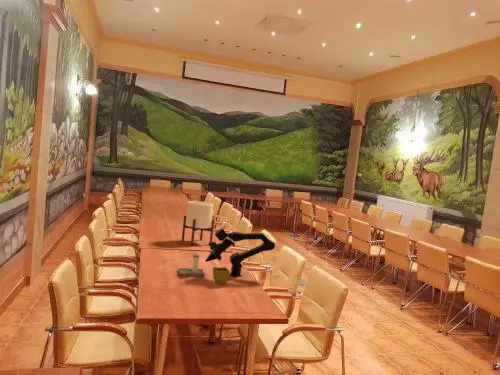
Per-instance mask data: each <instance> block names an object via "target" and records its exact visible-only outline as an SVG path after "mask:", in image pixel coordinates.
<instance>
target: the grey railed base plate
mask: <svg viewBox="0 0 500 375" xmlns="http://www.w3.org/2000/svg"><path fill="white" fill-rule="evenodd" d="M177 272H178V274H179V277H195V278H196V277H202V278H205V272H204V268H198V269H197V272H192V267H178V270H177Z"/></svg>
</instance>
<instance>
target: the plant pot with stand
mask: <svg viewBox="0 0 500 375" xmlns="http://www.w3.org/2000/svg"><path fill="white" fill-rule="evenodd" d="M213 209H214V204H213V203H211V202H207V201H206V202H205V201H198V200H197V201H195V200H193V201H191V200H189V201H187V206H186V215H183V222H182V223H183V224H182V234H181V235H182V236H181V242H184V241H185V234H186V233H185V230H186V229H191V238H190V246H192V247H193V246H194V240H195V232H196V231H199V230H200V236H199V241H203V234H204V233H203V232H204V231H205V232H210V237H209V241H210V240H211V241H213V237H214V236H213V234H214V225H215V219H213V211H214V210H213Z"/></svg>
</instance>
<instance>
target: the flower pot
mask: <svg viewBox="0 0 500 375" xmlns="http://www.w3.org/2000/svg"><path fill="white" fill-rule="evenodd" d="M229 274H231V270H230V269H228V268H227V267H225V266H224V267H212V276H213V281H214V282H215V284H217V285H226V284H227V282H228V280H229V277H230V275H229Z"/></svg>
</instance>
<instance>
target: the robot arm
mask: <svg viewBox="0 0 500 375" xmlns="http://www.w3.org/2000/svg"><path fill="white" fill-rule="evenodd" d="M213 234H214V236H215V237H216V238H217V240H218V241H220V242H218V243H217V242H215V241H213V240H212V241H211V240H210V239H209V241H208V243H207V245H208V247H209V249H210V250H209V255H208V256H207V257H206V258H205V260H204V261H205V263H207V262H211V261H215V260H218V261H219V262H221V260H222V259H223V258H222V254H223V253H224V252H226V251H227V250H228V249H229V248H230V247H231V246H232V247H233V248H234V247H235V244H236V243H235V242H241V241H245V240H261V244H260V245H258V246H255V247H253V248H250V249H249V250H246V251H243V252H241V253H240V252H238V251H237V252H234V253H231V255H230V256H229V262H230V263H231V268H230V274H229V276H231V277H234V278H238V277H243V274H242V273H241V272H242V268H243V265H242V262H243V261H244V260H246V259H248V258H251V257H252V256H256V255H257V254H260V253H262V252H269V251H273V250H274V249H275V247H276V243H275V242H274V241H272V240H271V239H269V238H268V237H267V236H266V234H264V233H263V232H254V233H253V232H252V233H250V232H249V233H246V232H245V233H243V232H240V231H232V232H230V233H229V232H228V233H227V232H226V231H225V229H224V228H223V227H222V228H219V229H218V230H217V231H215V233H213Z"/></svg>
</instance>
